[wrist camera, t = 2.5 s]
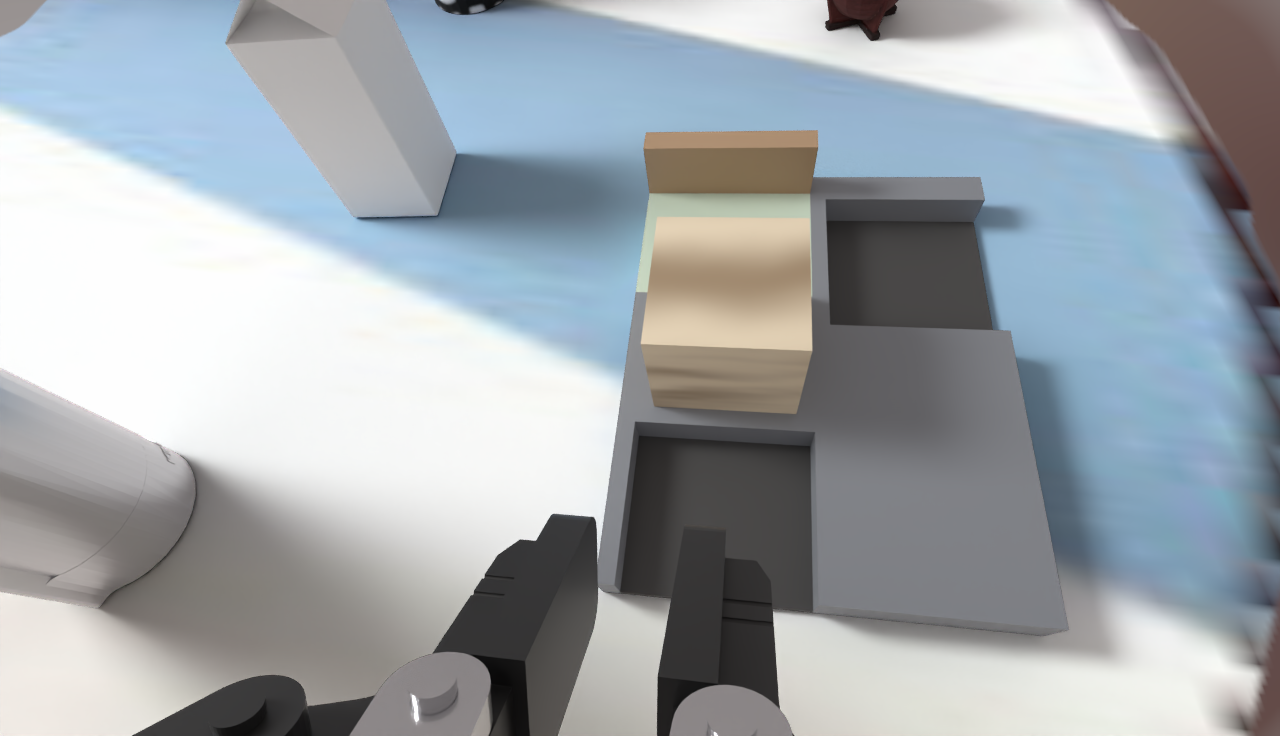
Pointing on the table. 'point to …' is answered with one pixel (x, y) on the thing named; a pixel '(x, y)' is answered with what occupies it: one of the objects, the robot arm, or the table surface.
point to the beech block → (729, 313)
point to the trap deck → (845, 411)
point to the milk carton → (349, 100)
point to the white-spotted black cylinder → (466, 5)
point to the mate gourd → (859, 14)
